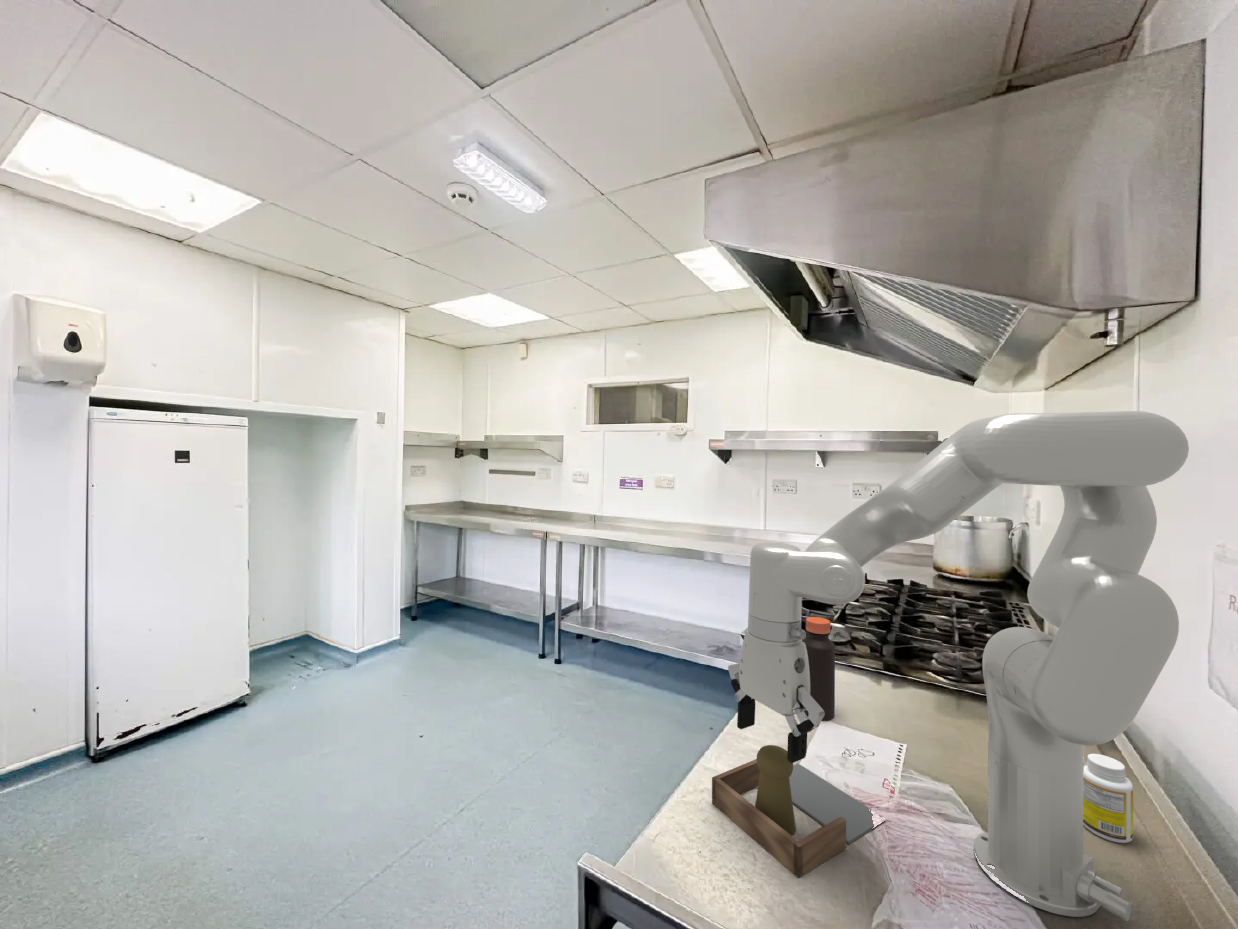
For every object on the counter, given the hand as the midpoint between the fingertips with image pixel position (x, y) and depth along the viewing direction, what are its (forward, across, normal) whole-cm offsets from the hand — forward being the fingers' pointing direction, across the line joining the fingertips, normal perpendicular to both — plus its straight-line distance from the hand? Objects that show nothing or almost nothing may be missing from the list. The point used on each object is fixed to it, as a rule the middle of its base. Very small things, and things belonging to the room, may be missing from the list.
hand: (769, 742), depth 74 cm
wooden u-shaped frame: (+12, -1, -1) cm, 12 cm away
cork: (+12, -1, -1) cm, 12 cm away
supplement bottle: (+11, -26, -42) cm, 50 cm away
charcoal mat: (+12, -1, -11) cm, 16 cm away
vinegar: (+12, +18, -35) cm, 41 cm away
